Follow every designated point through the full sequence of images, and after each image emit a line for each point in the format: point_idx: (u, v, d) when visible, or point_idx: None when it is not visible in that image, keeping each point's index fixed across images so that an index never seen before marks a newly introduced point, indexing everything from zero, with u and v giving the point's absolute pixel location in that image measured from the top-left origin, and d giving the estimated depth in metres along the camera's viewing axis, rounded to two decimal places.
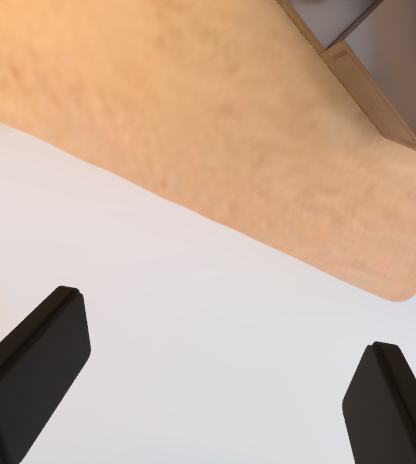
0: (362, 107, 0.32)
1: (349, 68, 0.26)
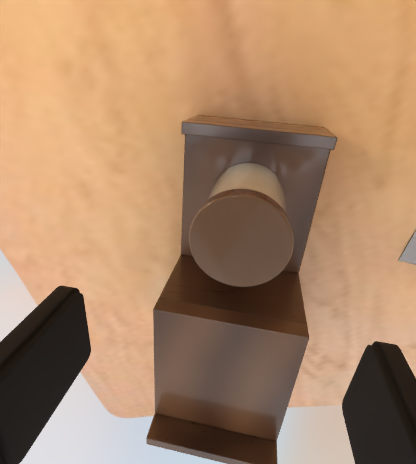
0: None
1: None
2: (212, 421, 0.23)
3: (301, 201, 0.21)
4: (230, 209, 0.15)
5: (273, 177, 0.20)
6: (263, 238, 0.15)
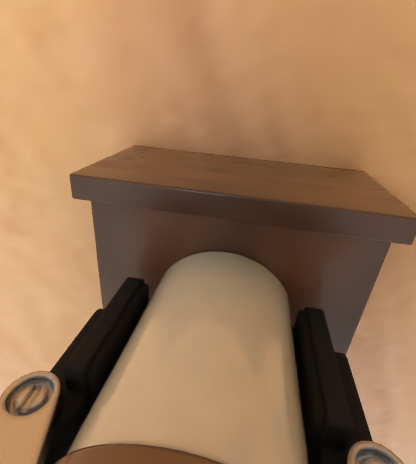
0: None
1: None
2: None
3: None
4: None
5: (271, 294, 0.09)
6: None
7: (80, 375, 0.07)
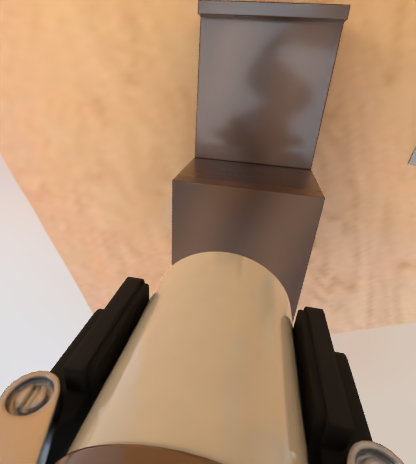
0: None
1: None
2: None
3: (314, 86, 0.22)
4: None
5: (270, 294, 0.09)
6: None
7: (80, 375, 0.07)
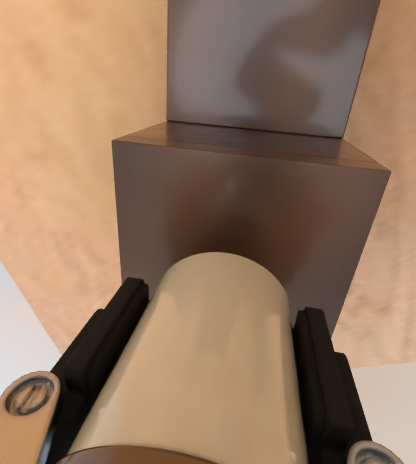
0: None
1: None
2: None
3: None
4: None
5: (270, 295, 0.09)
6: None
7: (80, 375, 0.07)
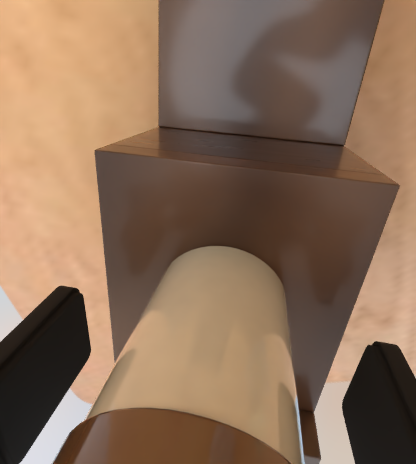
0: None
1: None
2: None
3: None
4: None
5: (267, 285, 0.10)
6: None
7: None
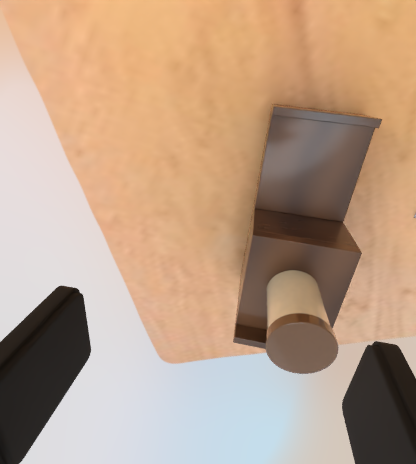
0: (245, 250, 0.40)
1: None
2: None
3: (350, 166, 0.30)
4: (298, 329, 0.22)
5: (315, 285, 0.27)
6: (317, 347, 0.23)
7: None
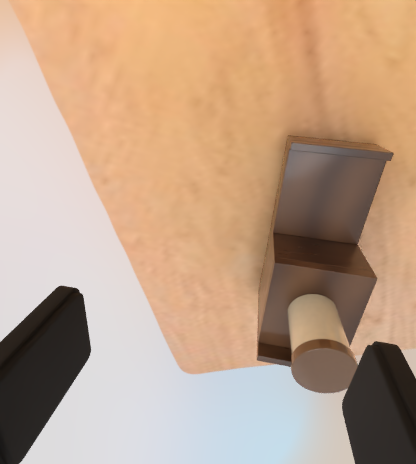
0: (263, 269, 0.42)
1: (269, 262, 0.34)
2: None
3: (364, 194, 0.32)
4: (321, 354, 0.24)
5: (334, 309, 0.30)
6: (340, 370, 0.25)
7: None
